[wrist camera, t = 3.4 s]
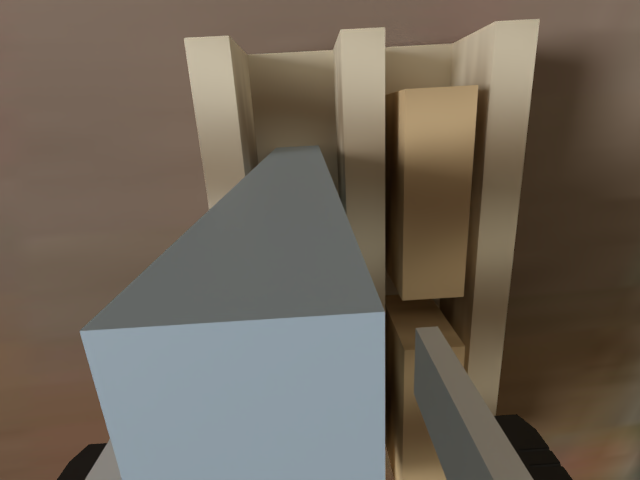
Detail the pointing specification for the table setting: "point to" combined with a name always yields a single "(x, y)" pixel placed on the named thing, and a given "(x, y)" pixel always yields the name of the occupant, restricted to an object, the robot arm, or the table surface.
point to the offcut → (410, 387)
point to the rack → (381, 145)
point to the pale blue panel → (249, 342)
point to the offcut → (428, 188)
